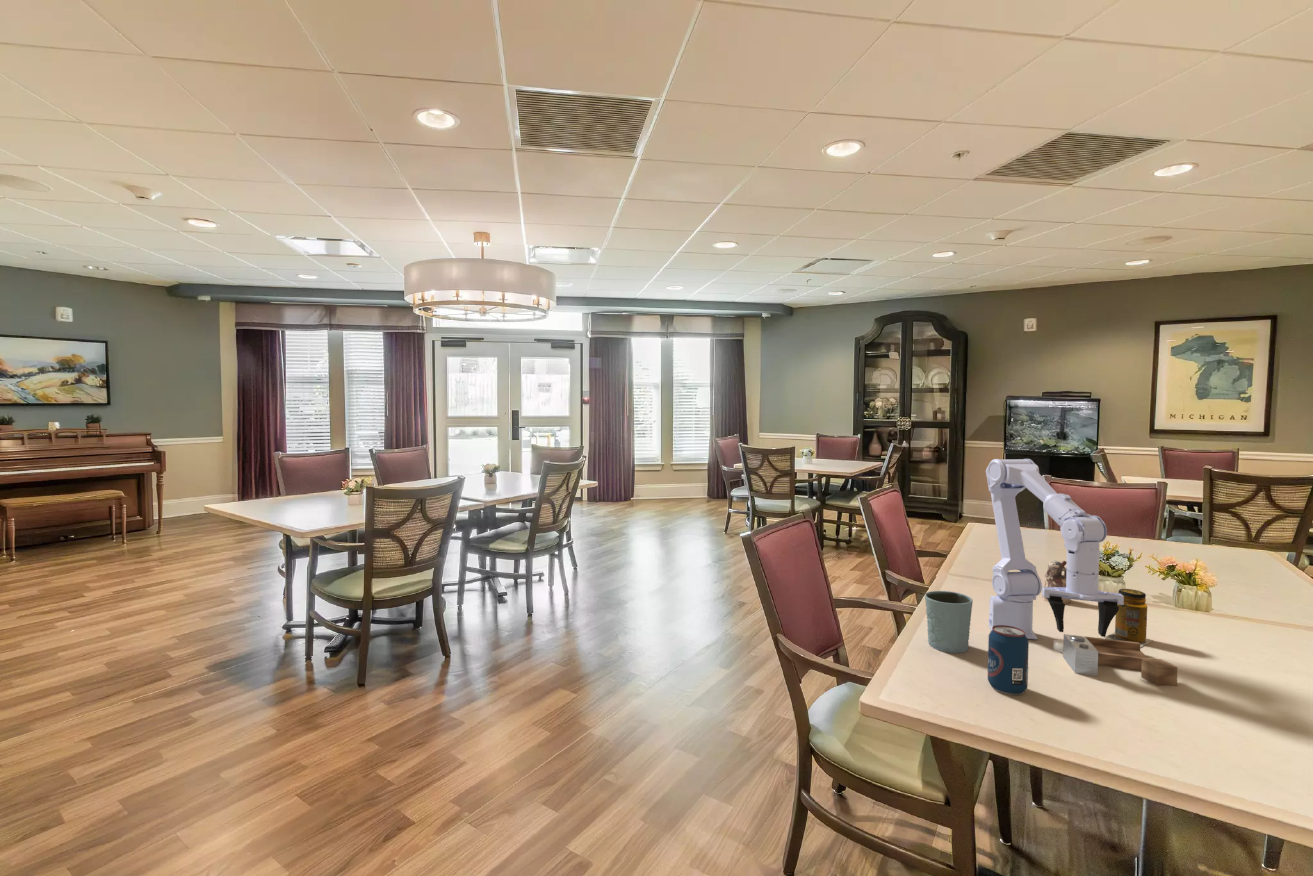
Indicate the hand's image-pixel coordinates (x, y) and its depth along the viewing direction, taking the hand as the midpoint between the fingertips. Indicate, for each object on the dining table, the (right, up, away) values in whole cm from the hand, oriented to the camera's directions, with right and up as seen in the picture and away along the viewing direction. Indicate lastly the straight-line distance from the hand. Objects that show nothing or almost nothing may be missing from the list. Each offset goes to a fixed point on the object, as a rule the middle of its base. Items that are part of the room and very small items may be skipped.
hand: (1080, 632), depth 130 cm
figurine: (+26, -6, +47) cm, 54 cm away
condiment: (+23, -7, +16) cm, 29 cm away
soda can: (-22, -8, -10) cm, 26 cm away
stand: (+11, -7, +5) cm, 14 cm away
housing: (0, -8, 0) cm, 8 cm away
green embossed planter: (-24, -7, +11) cm, 27 cm away
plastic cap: (+2, -7, +9) cm, 12 cm away
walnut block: (+11, -8, -7) cm, 15 cm away
